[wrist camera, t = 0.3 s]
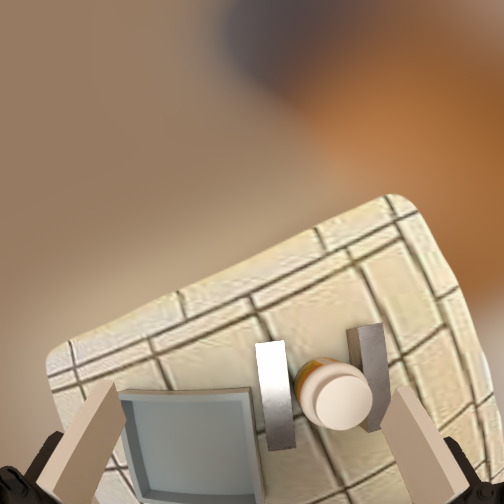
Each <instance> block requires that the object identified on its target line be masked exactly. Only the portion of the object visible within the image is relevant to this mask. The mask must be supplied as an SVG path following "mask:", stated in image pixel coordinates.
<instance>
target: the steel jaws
mask: <svg viewBox="0 0 504 504" xmlns="http://www.w3.org/2000/svg"><path fill="white" fill-rule="evenodd" d="M346 332H347V339H348V346H349V354H350V363H351V365H352V366H354V367H356V368H357V369H359V370H360V371H361V372H362V373H363V375H364V376H365V378H366V380H367V382H368V386H369V387H370V389H371V392H372V398H373V400H372V407H371V409H370V412H369V414H368V415H367V417H366V418H365V419H364V420H363V421H362V422H361V423H360V424H359V425H360V426H361V427H362V428H363V429H364V430H365V431H366V432H368V433H370V432H373V431H377V430H380V429H381V426H380V424H381V422H382V419H383V417H384V415H385V413H386V411H387V409H388V406H389V404H390V402H391V394H390V381H389V371H388V361H387V352H386V344H385V337H384V330H383V323H377V324H372V325H367V326H363V327H358V328H353V329H348V330H346ZM255 347H256V355H257V363H258V372H259V380H260V388H261V397H262V405H263V413H264V421H265V429H266V437H267V445H268V451H277V450H285V449H293V448H296V442H295V432H294V423H293V414H292V405H291V396H290V387H289V379H288V370H287V362H286V354H285V346H284V340H280V341H273V342H265V343H257V344H255Z"/></svg>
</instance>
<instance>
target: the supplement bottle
mask: <svg viewBox="0 0 504 504" xmlns="http://www.w3.org/2000/svg"><path fill="white" fill-rule="evenodd" d="M294 391H295V395H296V398H297V400H298V402H299V404H300V406H301V408H302V410H303V412H304V414H305V415H306V416H307V418H308V419H309V420H310V421H311V422H313V423H314V424H316V425H318V426H320V427H324V428H330V429H333V430H348V429H351V428H353V427H355V426H357V425H358V424H360V423H361V422H362V421H363V420H364V419H365V418H366V417H367V415H368V414H369V412H370V409H371V407H372V400H373V398H372V392H371V389H370V387H369V386H368V382H367V380H366V378H365V376H364V375H363V373H362V372H361V371H360V370H359V369H357V368H356V367H354V366H352V365H350V364H347V363H344V362H340V361H337V360H333V359H329V358H318V359H314V360H312V361H310V362H308V363H306V364H305V365H304V366H303V367H302V368H301V369H300V370H299V371H298V373H297V375H296V378H295V381H294Z"/></svg>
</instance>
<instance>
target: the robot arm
mask: <svg viewBox="0 0 504 504" xmlns="http://www.w3.org/2000/svg"><path fill="white" fill-rule="evenodd" d="M126 421H127V420H126V417H125V414H124V411H123V409H122V406H121V403H120V400H119V397H118V394H117V391H116V388H115V384H114V382H111V381H107V380H102V379H100V380H99V381H98V383H97V384H96V386H95V387H94V389H93V390H92V392H91V393H90V395H89V396H88V398H87V399H86V401H85V402H84V404H83V405H82V407H81V409H80V410H79V412H78V413H77V415H76V416H75V418H74V419H73V421H72V423H71V424H70V426H69V427H68V429H67V431H66V432H65V434H63V433H61V432H59V431H56V432H54V433H53V434H52V435H50V436H49V437H48V438H47V440H46V441H45V443H44V445H43V447H42V448H41V449H40V451H39V453H38V454H37V456H36V457H35V459H34V460H33V462H32V464H31V465H30V467H29V469H28V470H27V472H26V474H25V475H24V476H23V475H21V473H20V472H19V471H18V470H17V469H16V468H14V467H12V466H4V467H2V468H1V469H0V504H91V501H92V498H93V496H94V494H95V491H96V489H97V487H98V484H99V482H100V479H101V477H102V475H103V472H104V470H105V468H106V465H107V463H108V461H109V458H110V456H111V454H112V452H113V449H114V447H115V445H116V443H117V440H118V438H119V436H120V434H121V432H122V429H123V427H124V425H125V423H126ZM380 426H381V429H382V431H383V433H384V435H385V438H386V440H387V442H388V444H389V447H390V449H391V451H392V454H393V456H394V458H395V460H396V463H397V465H398V468H399V470H400V472H401V475H402V477H403V480H404V482H405V484H406V487H407V489H408V492H409V494H410V497H411V499H412V502H413V504H504V482H501V483H497V484H493V485H492V484H491V483H489V482H482V481H481V480H480V479H479V478H478V476H477V474H476V472H475V471H474V469H473V467H472V466H471V464H470V462H469V461H468V459H467V458H466V456H465V454H464V452H462V449H461V447H460V446H459V444H458V443H457V442H456V441H455V440H454V439H452V438H451V437H450V436H449V437H446V438H444V439H443V438H442V436H441V435H440V433H439V431H438V430H437V428H436V426H435V425H434V423H433V422H432V420H431V418H430V417H429V415H428V414H427V412H426V411H425V409H424V407H423V406H422V404H421V403H420V401H419V400H418V398H417V397H416V395H415V394H414V392H413V390H412V389H411V387H410V386H404V387H398V388H396V390H395V392H394V395H393V397H392V399H391V402H390V404H389V406H388V409H387V411H386V413H385V415H384V417H383V419H382V422H381V424H380Z"/></svg>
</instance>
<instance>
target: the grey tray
mask: <svg viewBox="0 0 504 504" xmlns="http://www.w3.org/2000/svg"><path fill="white" fill-rule="evenodd" d="M117 394H118V397H119V400H120V403H121V406H122V409H123V411H124V414H125V417H126V420H127V421H126V423H125V425H124V427H123V429H122V432H121V438H122V442H123V447H124V451H125V456H126V460H127V464H128V468H129V472H130V475H131V479H132V483H133V486H134V489H135V493H136V496H137V499H138V501H139V502H144V503H150V504H265V491H264V484H263V477H262V470H261V463H260V455H259V448H258V440H257V433H256V425H255V417H254V409H253V401H252V393H251V387H243V388H230V389H213V390H134V389H126V390H122V391H119V392H117Z"/></svg>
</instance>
